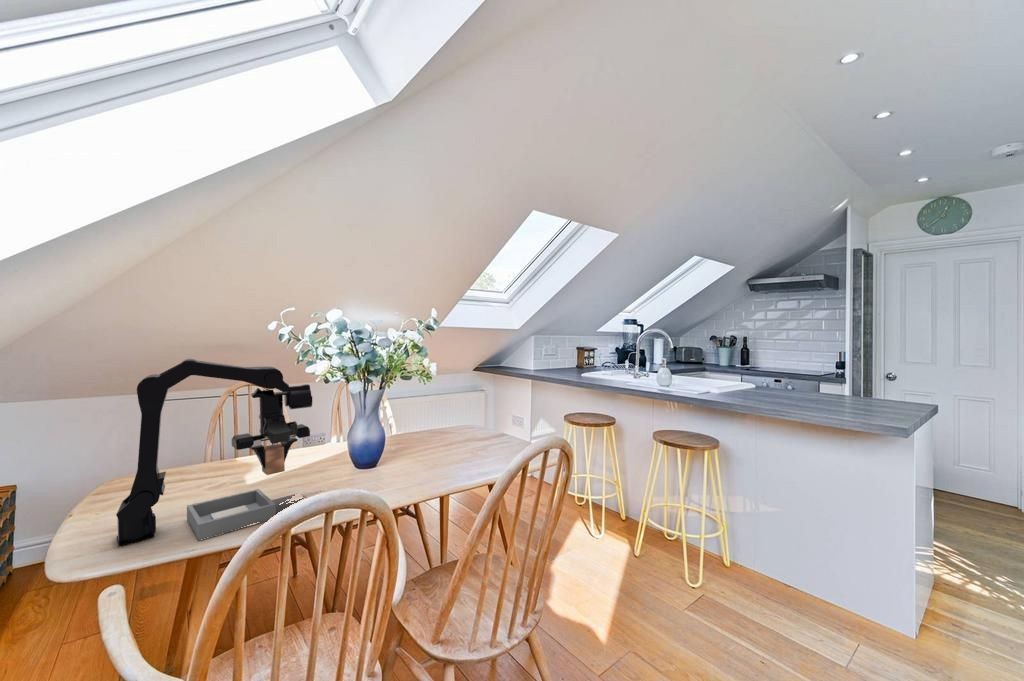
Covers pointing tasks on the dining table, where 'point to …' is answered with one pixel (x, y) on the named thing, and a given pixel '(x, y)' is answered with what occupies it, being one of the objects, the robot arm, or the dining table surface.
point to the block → (273, 459)
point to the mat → (284, 505)
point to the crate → (229, 513)
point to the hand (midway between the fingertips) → (273, 466)
